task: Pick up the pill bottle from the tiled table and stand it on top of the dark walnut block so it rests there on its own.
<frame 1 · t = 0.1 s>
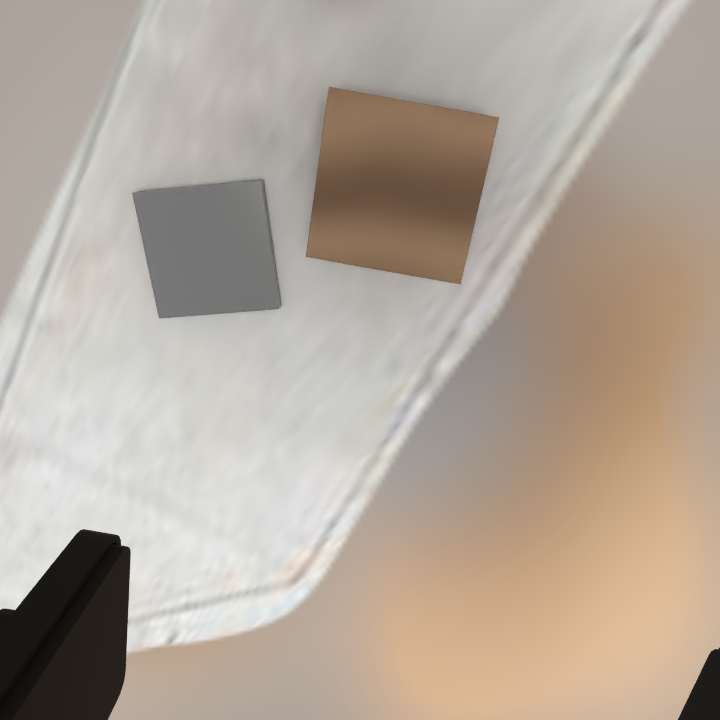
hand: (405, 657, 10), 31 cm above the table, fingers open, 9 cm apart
walnut block: (397, 184, 37), on the table
slate coaster: (211, 250, 39), on the table
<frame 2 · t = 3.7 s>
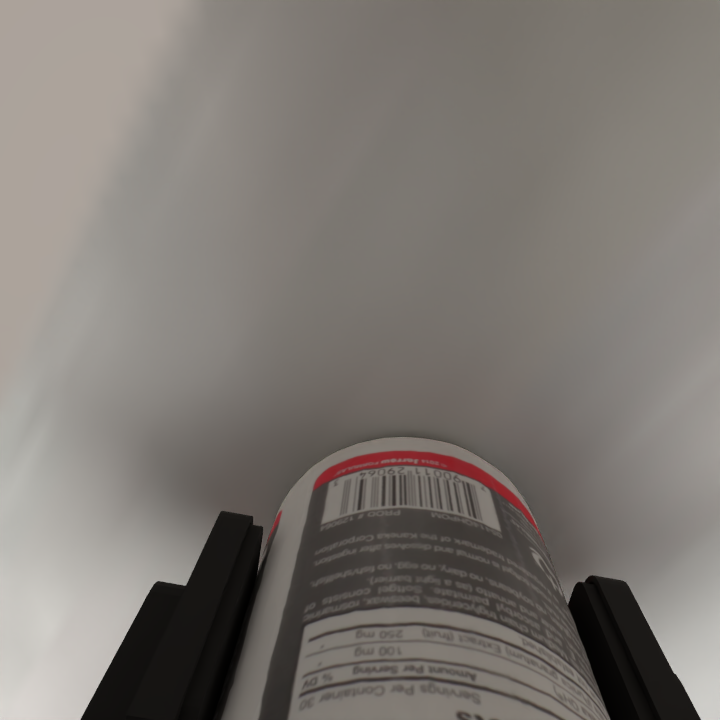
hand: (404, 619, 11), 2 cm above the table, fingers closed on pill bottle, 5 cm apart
pill bottle: (404, 540, 13), on the table, touching gripper
when the fingers open (7 cm above the table, at t = 8.9 s): pill bottle stays where it is, resting on walnut block.
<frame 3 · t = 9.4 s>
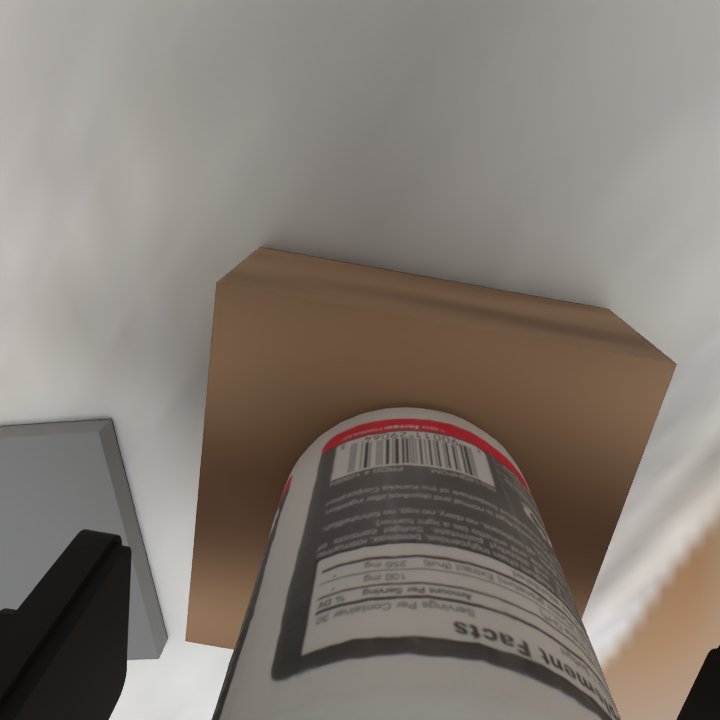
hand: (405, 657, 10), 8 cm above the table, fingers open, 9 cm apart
pill bottle: (405, 507, 13), point 4 cm above the table, touching walnut block
walnut block: (401, 434, 17), on the table
slate coaster: (17, 543, 19), on the table
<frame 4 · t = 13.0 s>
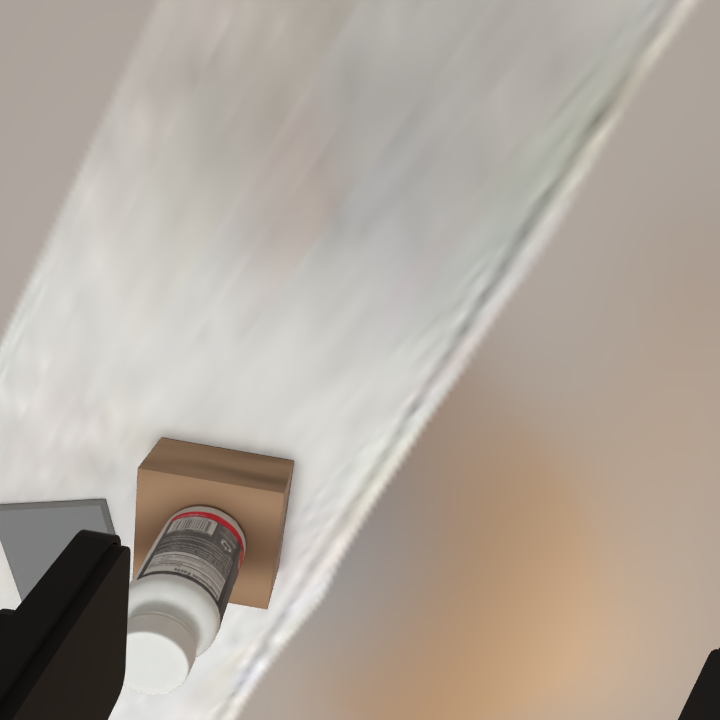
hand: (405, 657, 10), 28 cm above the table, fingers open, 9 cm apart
pill bottle: (206, 537, 39), point 4 cm above the table, touching walnut block
walnut block: (221, 505, 42), on the table
slate coaster: (65, 549, 45), on the table
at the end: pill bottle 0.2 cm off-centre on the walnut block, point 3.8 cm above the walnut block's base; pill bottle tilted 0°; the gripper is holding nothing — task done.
